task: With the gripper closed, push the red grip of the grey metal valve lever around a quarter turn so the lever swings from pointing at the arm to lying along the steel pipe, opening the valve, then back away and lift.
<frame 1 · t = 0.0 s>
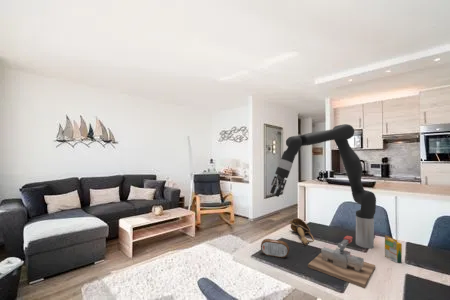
hand: (274, 194, 129), 31 cm above the table, tool tilted 20°, fingers open, 8 cm apart
tin: (274, 256, 121), on the table
valve lever: (345, 243, 113), point 10 cm above the table, hinge at 0.0°
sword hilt: (302, 238, 146), on the table
walnut board: (341, 267, 109), on the table
steel pipe and valve: (341, 258, 109), on the walnut board, point 5 cm above the table
crayon box: (393, 259, 117), on the table
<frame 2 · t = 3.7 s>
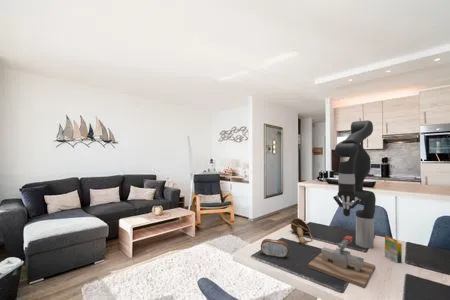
hand: (346, 215, 115), 24 cm above the table, tool pointing down, fingers closed
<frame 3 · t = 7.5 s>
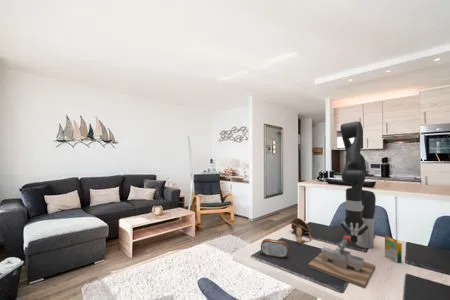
hand: (354, 242, 115), 10 cm above the table, tool pointing down, fingers closed
valve lever: (344, 243, 113), point 10 cm above the table, hinge at 2.9°, touching gripper
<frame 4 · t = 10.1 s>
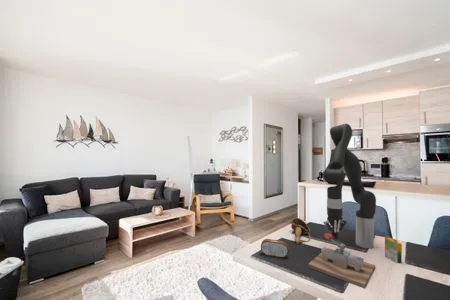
hand: (335, 238, 120), 10 cm above the table, tool pointing down, fingers closed
valve lever: (334, 242, 115), point 10 cm above the table, hinge at 48.2°, touching gripper
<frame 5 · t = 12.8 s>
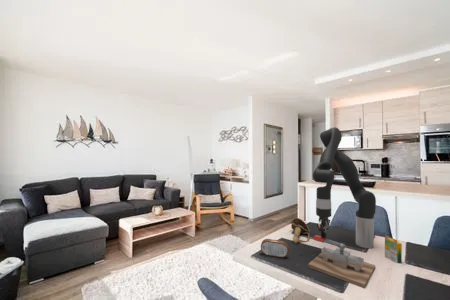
hand: (323, 239, 120), 10 cm above the table, tool pointing down, fingers closed
valve lever: (329, 243, 113), point 10 cm above the table, hinge at 83.3°
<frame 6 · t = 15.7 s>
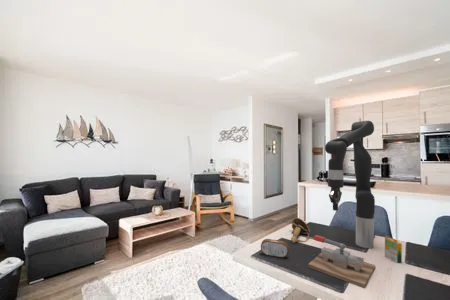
hand: (335, 210, 120), 25 cm above the table, tool pointing down, fingers closed
at the end: valve lever at +83° (first picture: +0°) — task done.
